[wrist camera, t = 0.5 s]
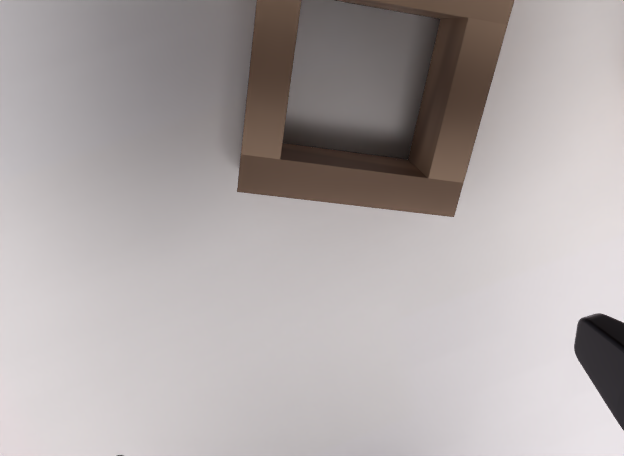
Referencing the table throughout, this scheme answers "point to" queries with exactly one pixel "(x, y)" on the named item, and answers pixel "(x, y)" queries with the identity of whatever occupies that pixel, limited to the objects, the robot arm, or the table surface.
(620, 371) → the robot arm
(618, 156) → the table surface
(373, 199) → the socket stand
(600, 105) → the table surface
